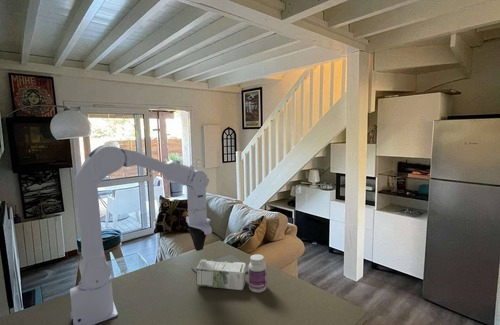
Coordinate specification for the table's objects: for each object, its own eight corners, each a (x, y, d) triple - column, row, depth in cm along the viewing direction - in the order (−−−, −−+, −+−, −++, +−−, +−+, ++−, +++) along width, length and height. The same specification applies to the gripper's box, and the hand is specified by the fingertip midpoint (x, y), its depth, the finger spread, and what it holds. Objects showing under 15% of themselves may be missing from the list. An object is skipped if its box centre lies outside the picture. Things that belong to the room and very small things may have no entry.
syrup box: (201, 275, 87) (246, 278, 85) (195, 286, 81) (243, 290, 80) (201, 258, 86) (246, 262, 84) (195, 268, 80) (243, 272, 79)
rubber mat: (210, 287, 82) (210, 285, 82) (191, 268, 93) (191, 267, 93) (253, 270, 91) (253, 268, 91) (231, 255, 102) (231, 254, 102)
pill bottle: (269, 290, 79) (269, 259, 78) (252, 295, 77) (252, 262, 76) (262, 281, 84) (261, 251, 83) (246, 285, 82) (245, 254, 81)
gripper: (219, 210, 81) (221, 253, 83) (198, 201, 93) (200, 239, 94) (198, 215, 77) (200, 260, 79) (179, 204, 89) (181, 244, 90)
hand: (199, 249), depth 86 cm, fingers closed
